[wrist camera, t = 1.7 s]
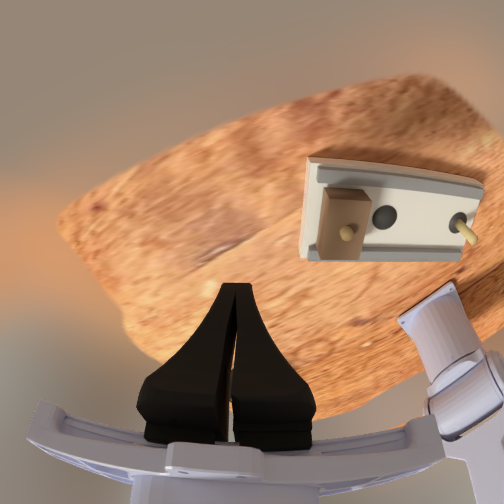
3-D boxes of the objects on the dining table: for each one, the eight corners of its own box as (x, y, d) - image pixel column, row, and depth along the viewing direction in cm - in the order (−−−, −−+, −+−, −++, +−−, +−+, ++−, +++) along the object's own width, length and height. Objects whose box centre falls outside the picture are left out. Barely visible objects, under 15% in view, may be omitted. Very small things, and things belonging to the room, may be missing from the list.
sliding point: (363, 189, 20) (374, 204, 18) (352, 245, 22) (360, 264, 20) (323, 187, 20) (331, 202, 18) (315, 244, 22) (321, 264, 20)
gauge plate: (475, 178, 20) (503, 200, 17) (451, 250, 25) (472, 277, 21) (307, 156, 20) (318, 177, 17) (298, 247, 25) (305, 281, 21)
